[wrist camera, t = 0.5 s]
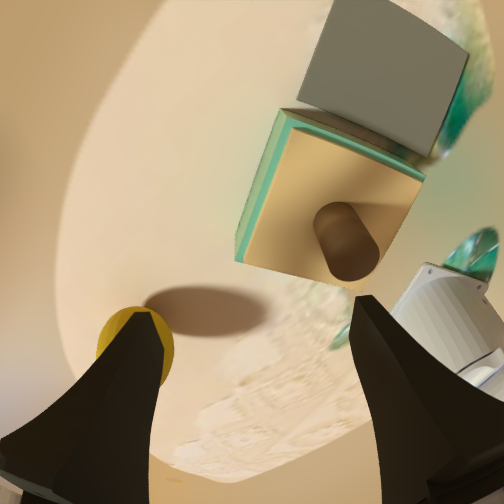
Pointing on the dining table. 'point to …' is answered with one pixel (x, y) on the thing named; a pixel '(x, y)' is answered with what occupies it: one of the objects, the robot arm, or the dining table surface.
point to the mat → (384, 71)
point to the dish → (272, 158)
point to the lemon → (118, 322)
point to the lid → (329, 213)
